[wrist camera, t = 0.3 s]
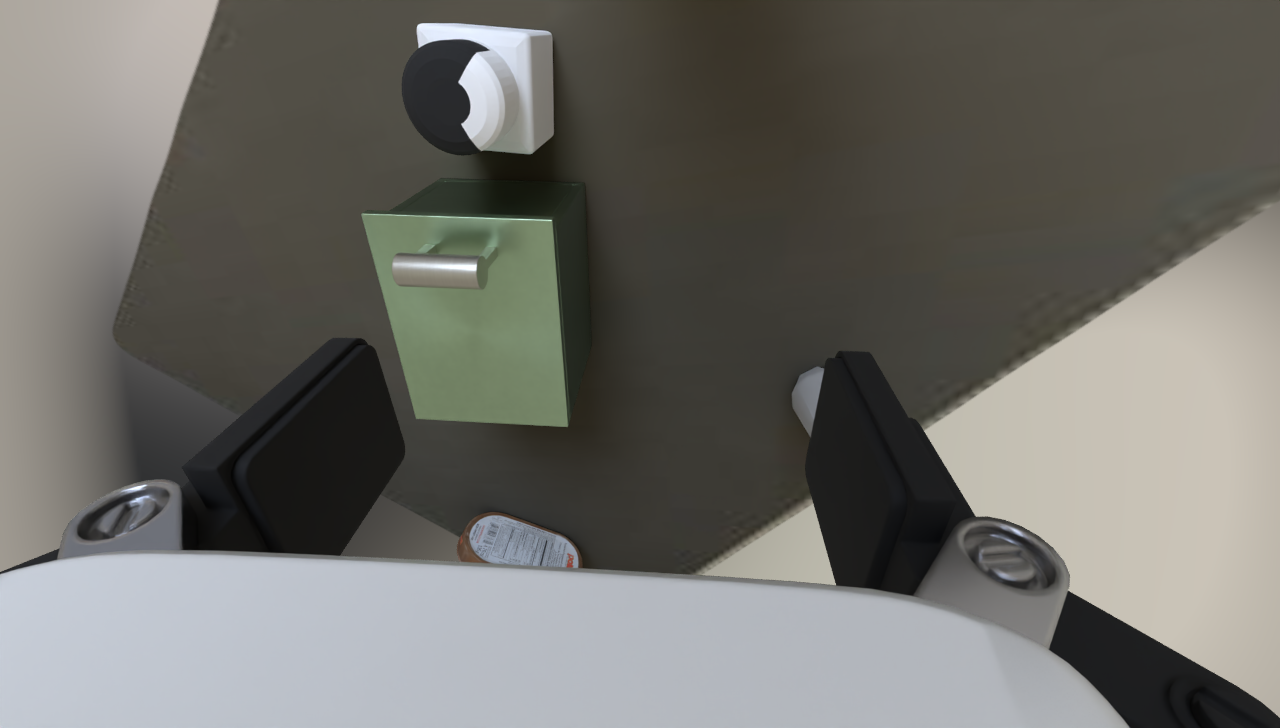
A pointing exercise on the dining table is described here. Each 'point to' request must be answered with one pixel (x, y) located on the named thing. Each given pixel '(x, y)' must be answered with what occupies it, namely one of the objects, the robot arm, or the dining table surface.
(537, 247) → the bin lid
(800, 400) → the salt shaker
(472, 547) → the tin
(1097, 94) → the dining table surface
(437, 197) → the bin
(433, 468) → the dining table surface
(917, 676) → the robot arm
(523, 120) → the medicine bottle
